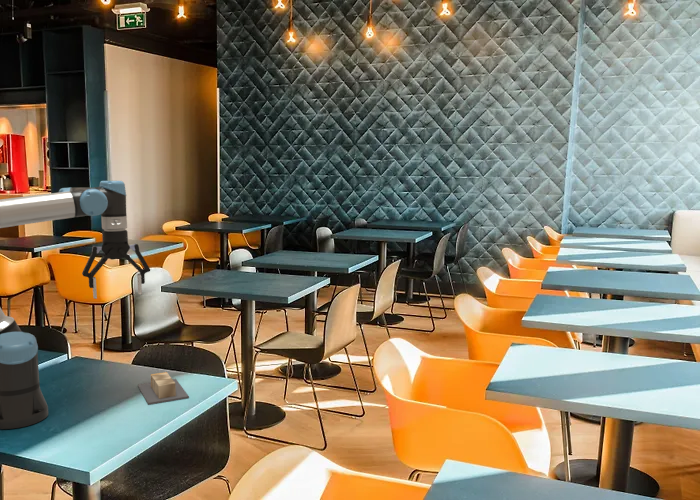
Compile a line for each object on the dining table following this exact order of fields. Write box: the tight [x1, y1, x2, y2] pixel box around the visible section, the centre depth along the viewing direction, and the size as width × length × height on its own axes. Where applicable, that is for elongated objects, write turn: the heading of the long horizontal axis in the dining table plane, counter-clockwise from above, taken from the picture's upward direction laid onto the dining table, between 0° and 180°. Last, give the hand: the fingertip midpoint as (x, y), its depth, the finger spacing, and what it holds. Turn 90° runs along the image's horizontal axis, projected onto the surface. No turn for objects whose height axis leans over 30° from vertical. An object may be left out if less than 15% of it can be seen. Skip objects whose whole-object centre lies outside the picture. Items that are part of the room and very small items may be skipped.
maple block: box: [150, 371, 176, 399], centre depth 197 cm, size 5×4×12 cm
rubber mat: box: [137, 378, 190, 406], centre depth 198 cm, size 12×18×1 cm, turn 28°
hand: (117, 296), depth 203 cm, fingers open, 13 cm apart
